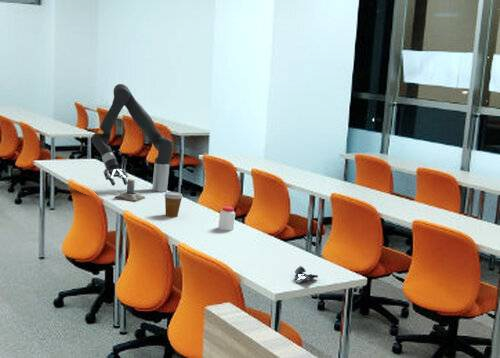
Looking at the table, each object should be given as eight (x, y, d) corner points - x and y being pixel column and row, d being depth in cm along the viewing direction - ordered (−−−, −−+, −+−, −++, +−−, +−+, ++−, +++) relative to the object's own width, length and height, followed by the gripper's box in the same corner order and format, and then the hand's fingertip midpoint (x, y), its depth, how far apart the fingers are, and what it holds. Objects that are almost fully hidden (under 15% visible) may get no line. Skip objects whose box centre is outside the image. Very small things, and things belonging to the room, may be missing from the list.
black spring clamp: (282, 277, 258) (301, 286, 249) (286, 262, 258) (305, 270, 249) (303, 279, 265) (323, 288, 256) (307, 264, 265) (327, 272, 256)
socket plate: (123, 194, 379) (124, 189, 379) (144, 198, 377) (145, 193, 376) (114, 198, 367) (114, 193, 366) (135, 201, 364) (136, 196, 364)
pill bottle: (222, 230, 321) (224, 209, 320) (215, 226, 328) (218, 205, 326) (236, 230, 325) (238, 209, 323) (229, 226, 332) (231, 205, 330)
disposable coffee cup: (159, 215, 338) (161, 192, 336) (168, 212, 347) (170, 190, 345) (175, 218, 335) (177, 196, 333) (183, 215, 344) (186, 193, 342)
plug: (128, 195, 374) (129, 178, 372) (134, 196, 373) (135, 179, 372) (125, 196, 370) (126, 179, 369) (131, 197, 369) (133, 180, 368)
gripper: (103, 158, 376) (113, 181, 370) (123, 158, 386) (133, 180, 381) (97, 165, 380) (106, 188, 374) (117, 165, 391) (127, 187, 385)
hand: (120, 184), depth 377 cm, fingers open, 8 cm apart
